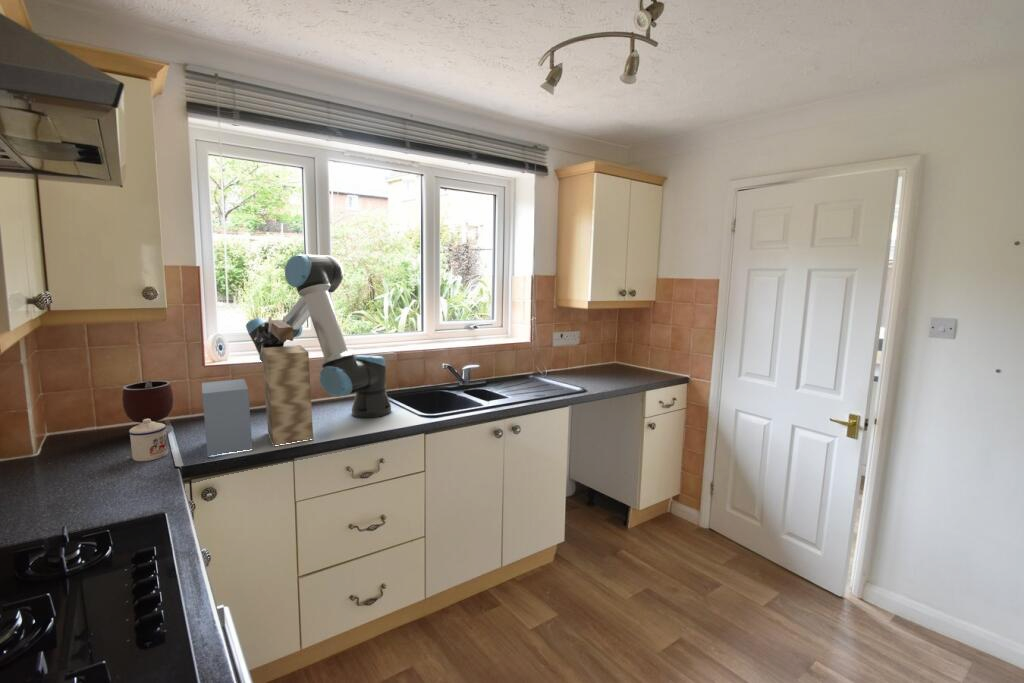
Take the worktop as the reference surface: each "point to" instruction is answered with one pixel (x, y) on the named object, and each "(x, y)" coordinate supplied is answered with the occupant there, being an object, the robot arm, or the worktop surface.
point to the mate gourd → (148, 401)
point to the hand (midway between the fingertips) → (277, 320)
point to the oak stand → (287, 394)
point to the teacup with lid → (148, 441)
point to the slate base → (227, 416)
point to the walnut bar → (282, 330)
